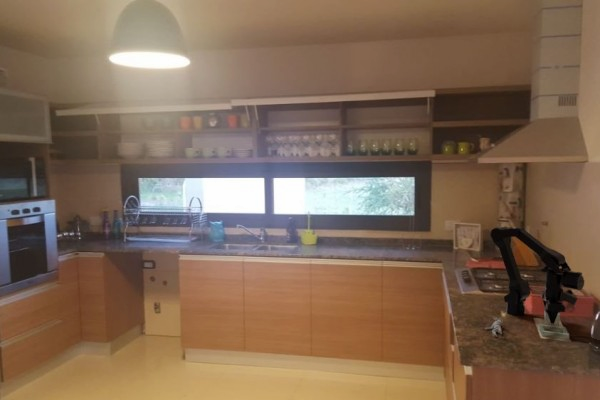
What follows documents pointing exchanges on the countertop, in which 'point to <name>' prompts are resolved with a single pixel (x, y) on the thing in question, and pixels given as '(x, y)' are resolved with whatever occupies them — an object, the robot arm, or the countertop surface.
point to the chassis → (552, 331)
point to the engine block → (547, 320)
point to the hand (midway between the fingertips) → (551, 321)
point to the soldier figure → (496, 326)
